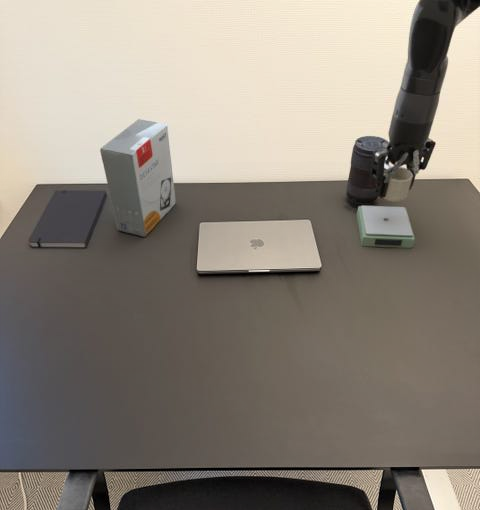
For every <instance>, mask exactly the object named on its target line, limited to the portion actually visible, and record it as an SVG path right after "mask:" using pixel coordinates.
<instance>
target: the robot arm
mask: <svg viewBox="0 0 480 510" xmlns="http://www.w3.org/2000/svg"><path fill="white" fill-rule="evenodd" d="M479 8H480V0H419V1H418V2H417V4H416V6H415V8H414V11H413V14H412V16H411V21H410V27H409V33H408V45H407V59H406V62H405V67H404V69H403V74H402V78H401V82H400V86H399V90H398V92H397V95H396V99H395V103H394V107H393V111H392V115H391V120H390V124H389V129H388V132H387V133H388V140H389V141H388V142H389V144H388V145H387V147H386V149H385V150H383V151H380V152H379V151H378V150H375V151H374V152H373V156H372V165H371V174H370V176H371V177H372V178H373V179H375V180H376V181H377V185H376V190H375V193H376V194H377V195H378V197H379V199H384V197H385V195H386V191H387V187H388V183H389V182H388V181H389V180H390V178H391V176H392V175H393V174H395V173H396V172H397V170H398V169H399V167H403V166H405V168H406V169H408V170H410V171H411V172H412V174H413V178H412V181H411V185H410V188H409V191H411V190H412V187H413V186H414V183H415V179H416V176H417V175H418V174H419V173H420V171H421V170H422V171H425V170H426V169H427V167H428V165H429V161H430V159H431V157H432V155H433V152H434V149H435V147H436V145H437V144H436V141H434V140H433V139H432V138H430V133H431V131H432V127H433V124H434V120H435V117H436V114H437V110H438V107H439V102H440V97H441V96H440V95H441V92H442V87H443V84H444V81H445V79H446V74H447V70H448V66H449V57H448V53H449V49H450V45H451V42H452V38H453V35H454V32H455V29H456V27H457V26H459V25H460V23H462V22H463V21H464V20H465V19H467V18H468V17H469V16H470V15H472V14H473V13H474V12H475V11H476V10H478V9H479ZM422 159H423V160H422ZM390 164H391V165H390ZM392 165H393V167H391V166H392ZM386 170H388V172H387V174H386V175H384V173H385V172H386Z"/></svg>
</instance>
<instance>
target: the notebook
mask: <svg viewBox="0 0 480 510" xmlns="http://www.w3.org/2000/svg"><path fill="white" fill-rule="evenodd" d="M107 197H108V193H107V191H106V190H96V189H95V190H91V189H90V190H88V189H87V190H84V189H83V190H82V189H81V190H79V189H78V190H77V189H74V190H73V189H69V190H67V189H66V190H65V189H64V190H63V189H59V190H55V191H54V192H53V194H52V196H51V197H50V199H49V201H48V203H47V204H46V207H45V209H44V210H43V213H42V214H41V216H40V218H39V219H38V221H37V223H36V225H35V227H34V229H33V231H32V232H31V234H30V236H29V238H28V243H29V244H30V247H31V248H35V249H37V248H39V249H42V248H43V249H45V248H46V249H87V247H88V245H89V242H90V239H91V237H92V234H93V232H94V229H95V227H96V225H97V223H98V219H99V217H100V215H101V212H102V210H103V207H104V204H105V201H106V199H107Z"/></svg>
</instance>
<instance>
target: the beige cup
mask: <svg viewBox="0 0 480 510" xmlns="http://www.w3.org/2000/svg"><path fill="white" fill-rule="evenodd" d="M390 166H391V167H393V166H394V165H393V166H392V165H390ZM387 172H388V170H386V172H385V173H384V175H386V174H387ZM412 178H413V174H412V172H411V171H410V170H408V169H407V167H403V166H401V167H399V169H398V170H397V172H396V173H395V174H393V175H392V176H391V178H390V180H389V181H388V182H389V183H388V187H387V191H386V195H385V197H384V198H383V199H384V200H385V201H388V202H401V201H403V200H405V199H406V198H407V197H408V196H409V192H410V190H409V188H410V185H411V181H412Z"/></svg>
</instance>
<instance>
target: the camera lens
mask: <svg viewBox="0 0 480 510" xmlns="http://www.w3.org/2000/svg"><path fill="white" fill-rule="evenodd" d="M388 144H389V141H388V140H387V139H385V138H384V137H380V136H375V135H365V136H360V137H358V138H356V140H355V141H354V144H353V147H352V151H351V158H350V167H349V172H348V173H349V174H348V178H347V183H346V193H345V195H346V202H347V204H348V205H350V207H353V208H356V209H358V206H375V203H376V201H377V200H378V197H379V196H378V195H377V194H376V193H375V190H376V185H377V181H376V180H375V179H373V178H372V177H371V176H370V174H371V165H372V156H373V152H374V151H375V150H378V151H379V152H380V151H383V150H385V149H386V147H387V145H388Z"/></svg>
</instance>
